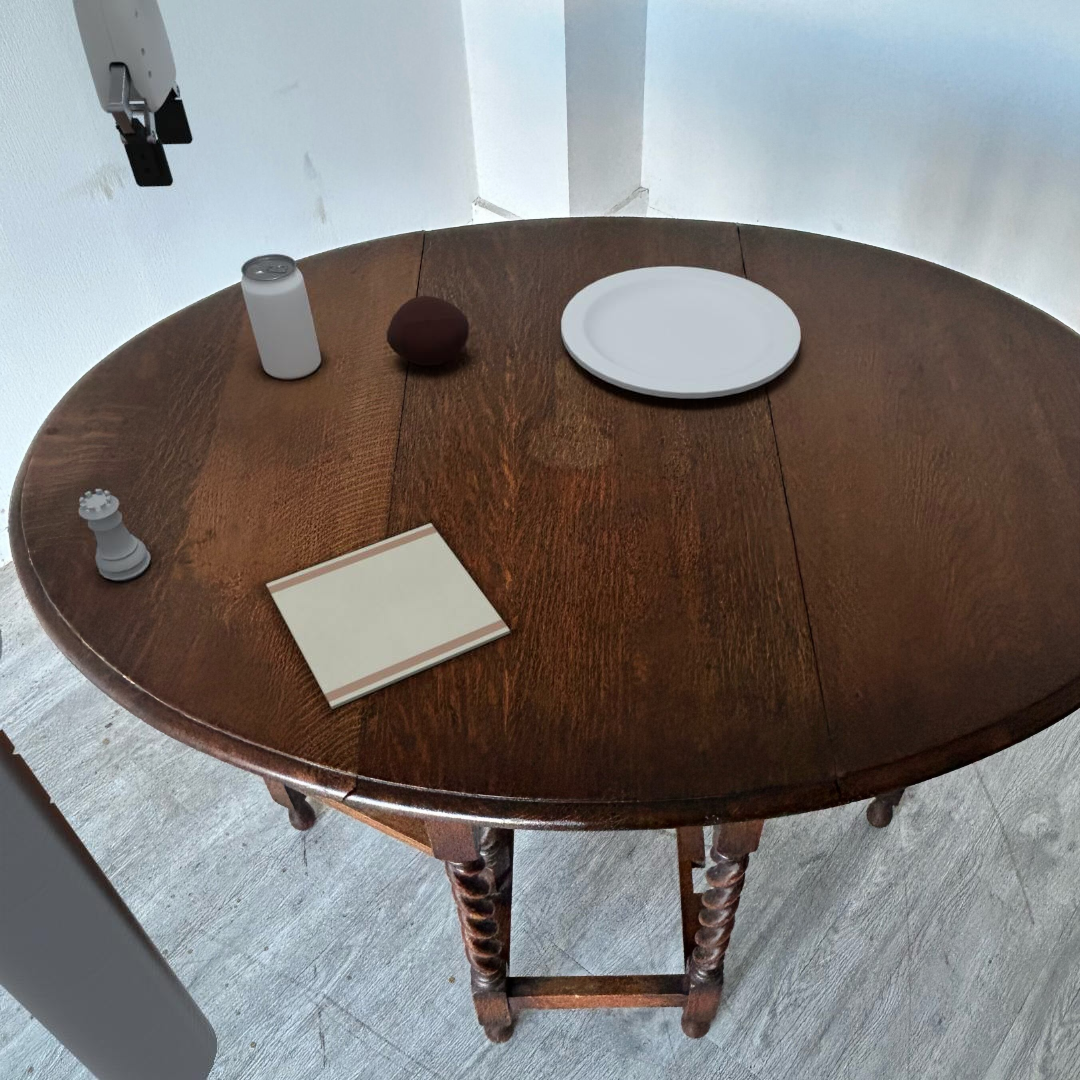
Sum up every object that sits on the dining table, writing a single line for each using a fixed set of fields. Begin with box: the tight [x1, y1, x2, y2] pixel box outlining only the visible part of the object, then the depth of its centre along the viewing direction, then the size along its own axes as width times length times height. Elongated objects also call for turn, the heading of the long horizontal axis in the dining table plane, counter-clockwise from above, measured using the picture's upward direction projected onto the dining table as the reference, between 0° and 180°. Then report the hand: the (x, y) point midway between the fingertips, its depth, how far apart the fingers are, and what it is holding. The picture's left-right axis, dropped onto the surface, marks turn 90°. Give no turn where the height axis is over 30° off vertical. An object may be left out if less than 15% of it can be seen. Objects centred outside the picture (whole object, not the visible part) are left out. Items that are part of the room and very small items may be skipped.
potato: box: [386, 295, 470, 367], centre depth 111 cm, size 8×9×8 cm
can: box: [240, 253, 322, 381], centre depth 108 cm, size 6×6×12 cm
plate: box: [560, 265, 802, 399], centre depth 116 cm, size 28×28×2 cm
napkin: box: [265, 522, 511, 710], centre depth 86 cm, size 16×16×1 cm
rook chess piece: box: [77, 488, 152, 582], centre depth 86 cm, size 4×4×8 cm
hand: (166, 163), depth 95 cm, fingers open, 9 cm apart
